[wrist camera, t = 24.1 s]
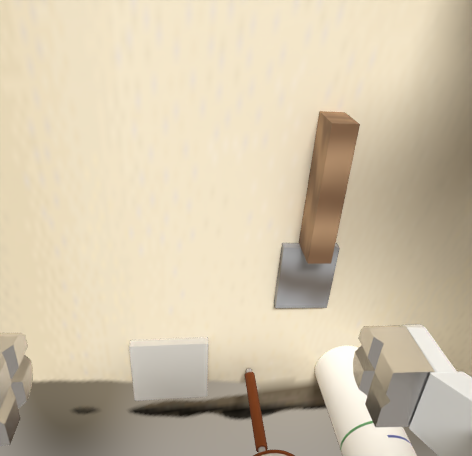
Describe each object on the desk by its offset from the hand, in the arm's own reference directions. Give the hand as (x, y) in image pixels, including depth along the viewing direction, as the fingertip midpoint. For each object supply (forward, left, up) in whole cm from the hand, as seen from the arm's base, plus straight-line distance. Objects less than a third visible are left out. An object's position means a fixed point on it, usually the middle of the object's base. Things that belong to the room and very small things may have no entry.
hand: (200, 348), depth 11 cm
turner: (-13, +12, -31) cm, 36 cm away
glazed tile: (+2, +29, -31) cm, 42 cm away
